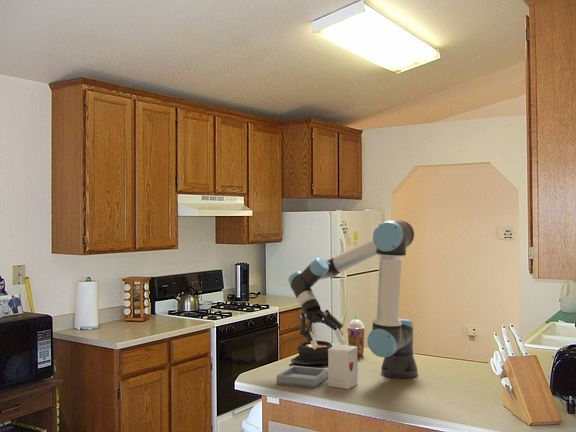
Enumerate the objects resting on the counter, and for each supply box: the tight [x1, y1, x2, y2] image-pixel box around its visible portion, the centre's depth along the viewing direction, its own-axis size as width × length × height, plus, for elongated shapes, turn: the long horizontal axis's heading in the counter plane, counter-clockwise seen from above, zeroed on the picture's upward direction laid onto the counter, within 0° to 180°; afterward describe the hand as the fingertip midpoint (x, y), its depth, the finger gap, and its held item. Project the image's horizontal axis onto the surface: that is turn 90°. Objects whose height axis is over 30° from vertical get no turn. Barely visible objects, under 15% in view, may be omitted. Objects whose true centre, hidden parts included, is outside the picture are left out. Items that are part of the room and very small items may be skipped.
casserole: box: [290, 340, 333, 366], centre depth 271 cm, size 25×19×8 cm
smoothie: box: [346, 313, 366, 358], centre depth 282 cm, size 8×8×20 cm
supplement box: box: [327, 344, 359, 390], centre depth 235 cm, size 9×9×15 cm
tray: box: [276, 365, 328, 389], centre depth 241 cm, size 16×16×4 cm
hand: (329, 345), depth 241 cm, fingers open, 13 cm apart
